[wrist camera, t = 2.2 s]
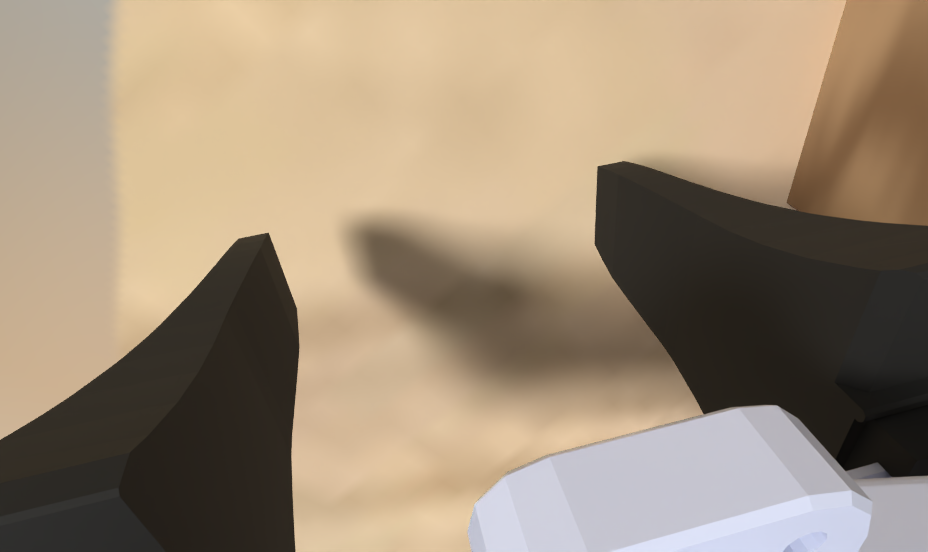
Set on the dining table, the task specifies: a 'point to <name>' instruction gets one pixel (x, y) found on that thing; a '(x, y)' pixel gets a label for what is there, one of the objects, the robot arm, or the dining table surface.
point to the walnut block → (871, 119)
